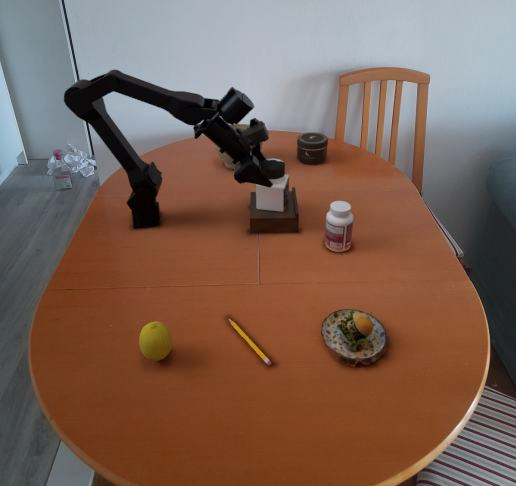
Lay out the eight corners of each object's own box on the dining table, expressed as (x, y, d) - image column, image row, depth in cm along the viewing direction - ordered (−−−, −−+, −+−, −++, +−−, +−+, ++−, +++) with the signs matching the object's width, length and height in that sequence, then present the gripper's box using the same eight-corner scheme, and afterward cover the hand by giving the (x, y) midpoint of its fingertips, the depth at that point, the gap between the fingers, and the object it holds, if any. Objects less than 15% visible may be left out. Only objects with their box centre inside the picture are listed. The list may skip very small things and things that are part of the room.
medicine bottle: (284, 212, 111) (284, 169, 105) (256, 209, 112) (255, 167, 107) (288, 198, 117) (289, 156, 111) (262, 195, 118) (261, 154, 113)
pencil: (268, 367, 77) (268, 364, 76) (226, 320, 86) (226, 317, 86) (272, 364, 77) (272, 362, 77) (230, 318, 87) (229, 316, 86)
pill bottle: (342, 235, 110) (346, 196, 104) (355, 249, 105) (360, 209, 99) (320, 240, 108) (322, 201, 103) (332, 255, 103) (335, 215, 98)
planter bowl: (264, 174, 138) (263, 142, 133) (212, 175, 139) (209, 143, 133) (264, 152, 152) (263, 123, 147) (217, 153, 153) (215, 123, 148)
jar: (292, 162, 145) (293, 141, 142) (301, 150, 153) (302, 130, 150) (322, 167, 142) (323, 145, 138) (330, 154, 150) (331, 133, 146)
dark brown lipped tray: (250, 233, 111) (249, 214, 108) (250, 205, 123) (250, 187, 120) (298, 232, 111) (298, 213, 108) (294, 205, 122) (294, 187, 120)
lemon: (167, 372, 76) (161, 339, 72) (137, 367, 77) (130, 334, 73) (179, 347, 81) (174, 314, 77) (150, 342, 82) (144, 310, 78)
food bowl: (334, 307, 89) (337, 278, 85) (394, 329, 83) (399, 299, 80) (309, 349, 80) (311, 319, 76) (374, 378, 74) (379, 346, 71)
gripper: (247, 128, 95) (297, 173, 100) (248, 100, 111) (292, 140, 116) (212, 162, 98) (263, 204, 104) (219, 130, 115) (262, 168, 120)
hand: (271, 177), depth 111 cm, fingers open, 9 cm apart
